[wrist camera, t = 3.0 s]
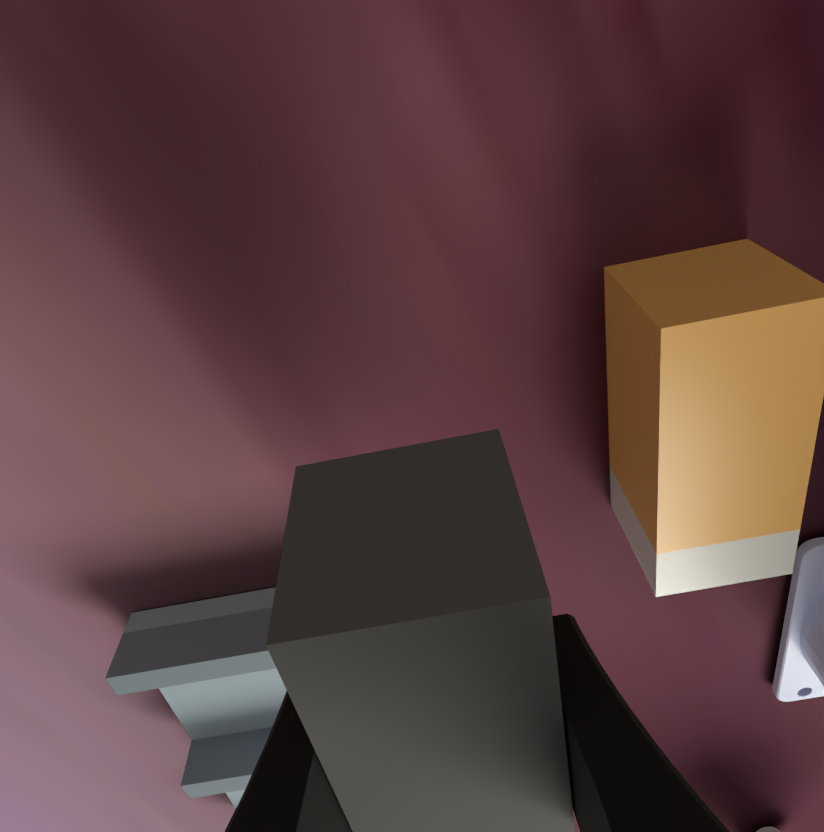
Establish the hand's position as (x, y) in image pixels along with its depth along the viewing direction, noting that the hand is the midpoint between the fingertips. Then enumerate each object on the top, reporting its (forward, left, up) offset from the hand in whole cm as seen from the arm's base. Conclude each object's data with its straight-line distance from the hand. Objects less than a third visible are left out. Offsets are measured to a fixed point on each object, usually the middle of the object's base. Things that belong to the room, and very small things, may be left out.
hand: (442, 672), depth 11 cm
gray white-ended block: (0, 0, -2) cm, 2 cm away
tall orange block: (-7, 0, -8) cm, 10 cm away
